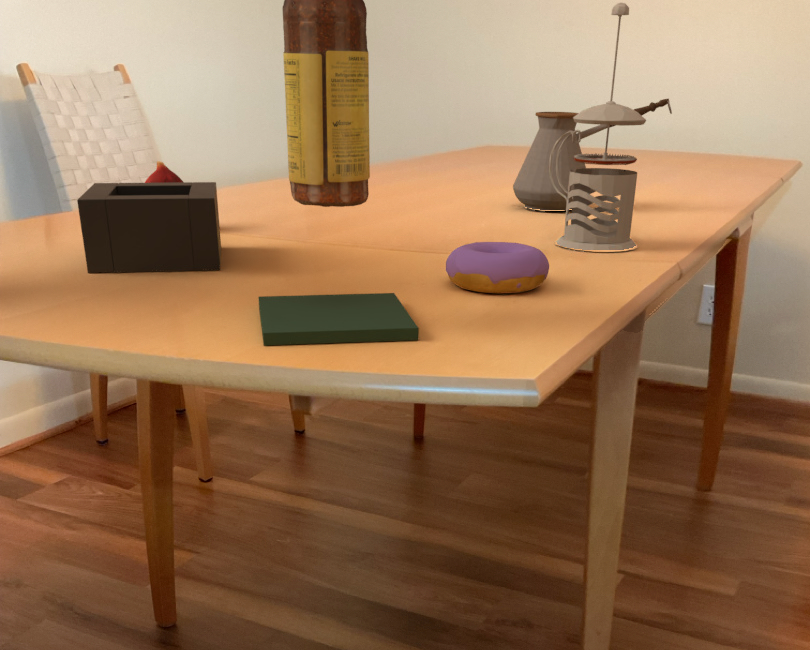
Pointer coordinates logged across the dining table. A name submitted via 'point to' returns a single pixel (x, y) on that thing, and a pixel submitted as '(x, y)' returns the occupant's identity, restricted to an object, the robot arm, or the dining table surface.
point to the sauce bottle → (327, 101)
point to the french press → (600, 180)
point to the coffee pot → (534, 172)
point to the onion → (162, 175)
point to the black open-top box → (150, 227)
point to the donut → (497, 267)
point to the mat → (335, 319)
